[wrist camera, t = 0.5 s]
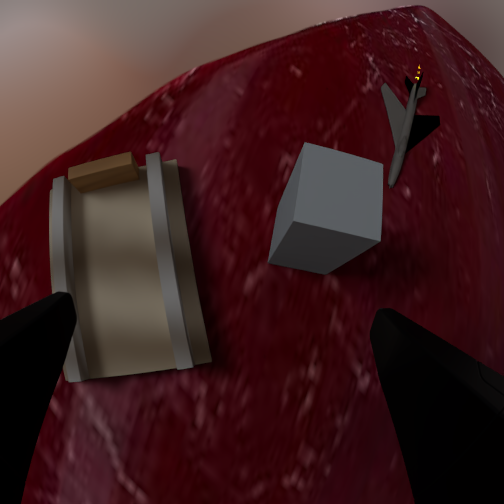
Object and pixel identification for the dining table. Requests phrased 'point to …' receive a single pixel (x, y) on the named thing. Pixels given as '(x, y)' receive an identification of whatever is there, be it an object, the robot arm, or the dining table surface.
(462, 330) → the dining table surface
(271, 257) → the block
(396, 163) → the toy airplane
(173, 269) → the rail
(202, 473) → the dining table surface
